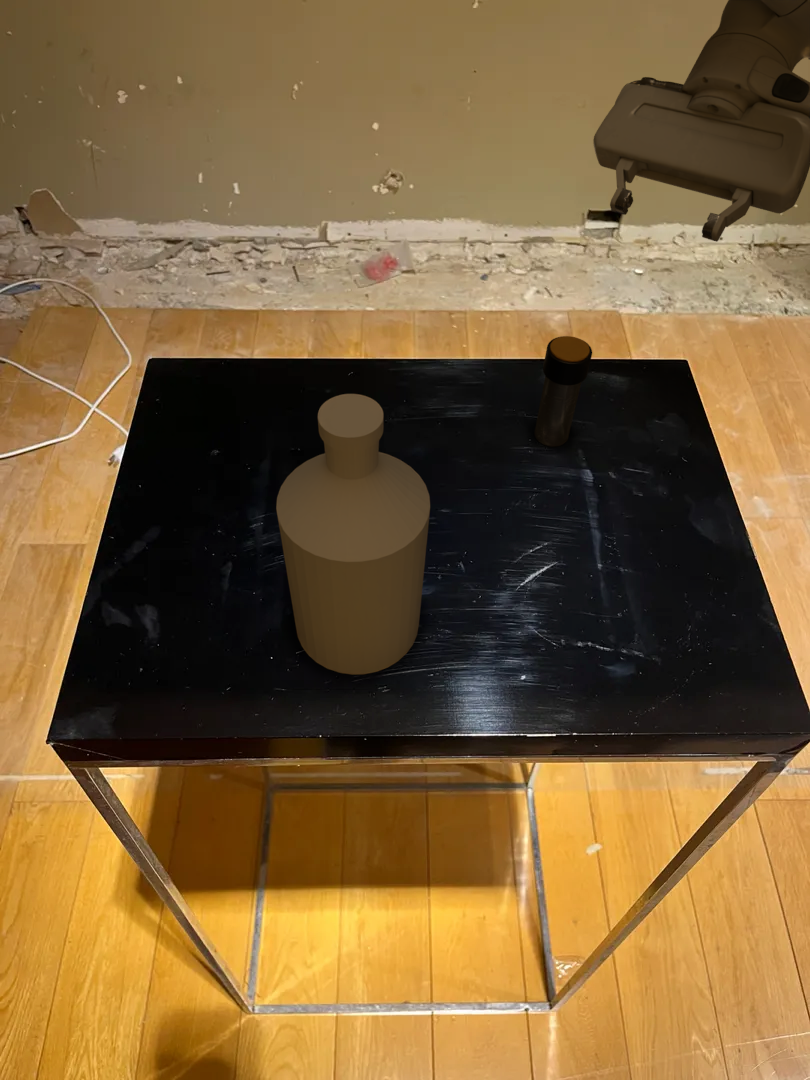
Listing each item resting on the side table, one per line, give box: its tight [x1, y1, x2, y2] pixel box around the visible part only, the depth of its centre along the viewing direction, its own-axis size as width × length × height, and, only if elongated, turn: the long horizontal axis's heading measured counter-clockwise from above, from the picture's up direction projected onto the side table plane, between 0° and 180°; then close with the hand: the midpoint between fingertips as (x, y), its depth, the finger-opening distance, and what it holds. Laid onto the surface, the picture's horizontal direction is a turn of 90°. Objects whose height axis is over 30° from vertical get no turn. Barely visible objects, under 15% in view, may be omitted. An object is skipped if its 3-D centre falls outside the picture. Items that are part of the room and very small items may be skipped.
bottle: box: [275, 393, 431, 675], centre depth 67 cm, size 12×12×25 cm
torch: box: [533, 335, 593, 448], centre depth 88 cm, size 5×5×12 cm
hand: (662, 223), depth 79 cm, fingers open, 8 cm apart
